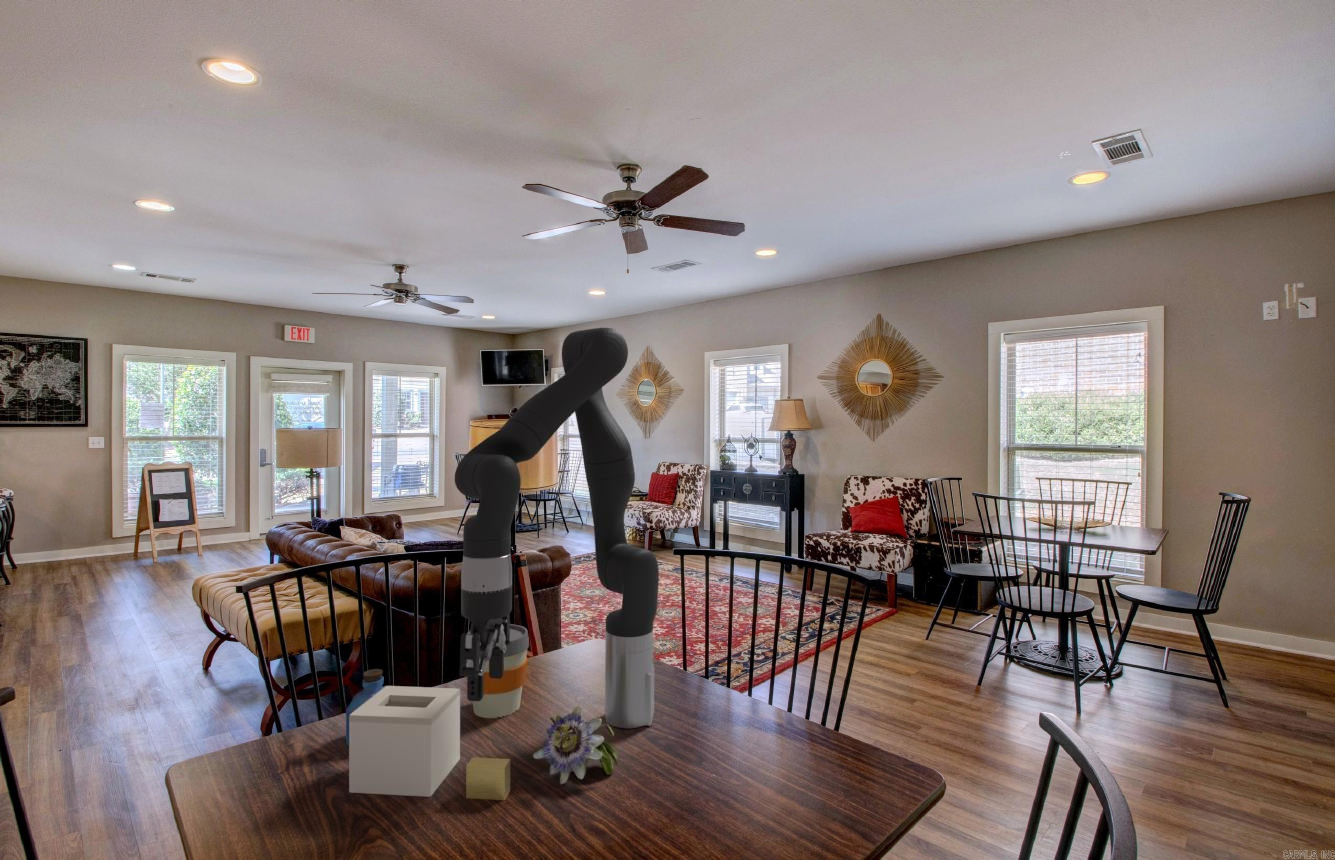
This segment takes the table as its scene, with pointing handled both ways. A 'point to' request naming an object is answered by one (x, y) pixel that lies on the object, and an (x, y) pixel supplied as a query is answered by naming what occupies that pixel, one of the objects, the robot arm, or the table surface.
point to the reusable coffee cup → (505, 679)
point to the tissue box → (404, 741)
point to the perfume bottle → (365, 693)
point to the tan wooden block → (488, 778)
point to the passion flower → (575, 746)
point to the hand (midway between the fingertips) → (486, 688)
